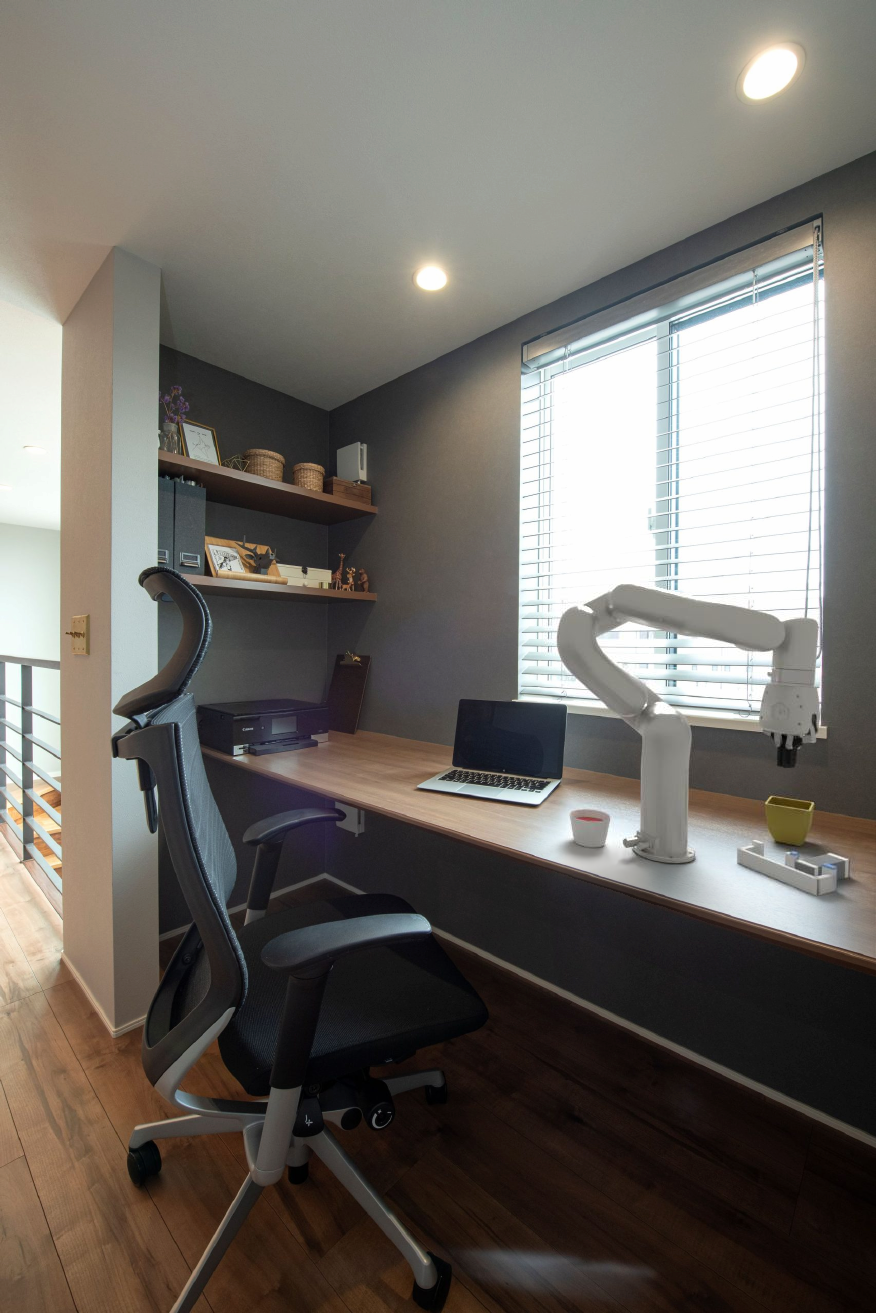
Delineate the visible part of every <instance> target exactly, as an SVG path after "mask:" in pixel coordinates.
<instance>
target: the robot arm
mask: <svg viewBox="0 0 876 1313" xmlns="http://www.w3.org/2000/svg"><path fill="white" fill-rule="evenodd" d="M629 622H630V623H634V624H637V625H642V626H645V627H649V628H653V629H655V630H660V631H664V632H667V633H671V634H675V635H678V636H679V635H680V636H682V637H689V638H690V637H693V638H703V639H704V638H705V639H708V640H713V641H719V642H723V643H728V644H731V645H734V646H735V647H736V648H737V649H740V650H742V651H744V652H751V653H753V652H755V653H756V652H758V653H769V652H771V651H772V657H771V658H772V659H771V670H768V671H767V676H768V677H769V678H770V682H767V683H766V684H765V687H764V690H763V694H762V698H761V703H760V709H759V718H758V719H759V720H758V724H759V727H760V728H761V729H762V733H763V734H764V735H767V736H769V737H771V739H773V741H774V745H775V746H776V747H777V753H776V754H777V755H776V766H777V767H780V768H784V769H792V768H793V769H794V768H796V763H797V754H798V750H799V749H801V747H802V746H803V745H804V744H810V743H811V744H813V743H816V742H817V737H816V735H817V734H818V733H819V729H820V698H819V691H818V687H817V686H815V682H816V681H815V680H816V666H817V652H818V641H819V640H818V639H819V623H818V621H817V620H816V619H814V618H810V617H781V618H778V617H777V616H774V615H772V614H770V613H767V612H763V611H759V610H754V609H751V608H746V607H744V606H738V605H735V604H729V603H725V602H719V601H714V600H710V599H706V598H702V597H698V596H692V595H689V594H684V593H680V592H675V591H672V590H668V589H664V588H660V587H657V586H652V585H647V584H644V583H640V582H635V581H622V582H620V583H618V584H617V585H615V586H614V587H613V588H612V589H611V590H609V591H607V592H605V593H604V594H602V595H600V596H598V597H596V598H594V599H592V600H589V601H588V602H586V603H584V604H581V605H575V606H571V607H570V608H567V609H566V610H565V612H564V613H563V614H562V616H561V617H560V619H559V623H558V625H557V626H558V627H557V633H556V646H557V647H556V648H557V652H558V655H559V658H560V660H561V663H563V665H564V667H565V668H566V669H567V670H568V672H570V673H571V675H572V676H573V677H574V678H575V679H577V680H578V682H580V683H581V684H582V685H583V686H584V687H585V688H586V689H588V691H590V692H591V693H592V694H593V695H594V696H595V697H596V698H597V699H599V700H600V701H601V702H602V703H603V704H604V706H605V707H606V709H608V710H609V711H611V712H612V713H613V714H615V715H617V716H618V717H619V718H621V719H622V720H623V721H624V722H625V723H626V724H628V726H630V727H631V728H633V729H634V730H635V731H636V732H637V733H638V734H640V736H641V737H642V739H641V740H642V744H641V747H642V748H641V761H640V762H641V763H640V820H639V822H640V824H639V825H640V828H639V829H638V830H636V835H634V837H626V838H623V840H622V844H623V847H624V848H626V849H629V848H632V850H633V851H634V852H635V853H636V854H637V855H639V856H641V857H643V858H646V859H648V860H651V861H655V862H659V863H668V864H684V863H685V864H686V863H689V862H691V861H693V860H695V858H696V849H694V848H693V847H692V846H691V845H689V844H688V838H689V836H688V835H689V834H688V828H689V825H688V824H689V821H688V820H689V775H690V774H689V772H690V771H689V770H690V769H689V767H690V758H691V756H690V755H691V749H692V741H693V740H692V730H691V729H692V728H691V725H690V723H689V720H688V719H687V718H686V716H685V715H684V714H683V713H682V712H681V711H679V710H678V709H676V708H674V707H673V706H671V705H670V704H669V703H667V702H666V701H665V700H664V699H662V697H661V696H659V695H658V694H657V693H656V692H654V691H653V690H652V689H651V688H650V687H649V686H647V685H646V684H645V683H644V682H643V681H642V680H641V679H640V678H639V677H638V676H636V675H634V674H632V673H631V672H629V671H627V669H625V668H624V667H623V666H622V665H621V664H619V663H618V662H617V661H616V660H615V659H613V658H612V656H610V655H609V654H608V653H606V652H605V651H604V650H603V649H602V647H600V644H599V643H598V640H597V638H598V637H600V636H602V635H604V634H606V633H608V632H611V631H613V630H614V629H617V628H619V627H621V626H623V625H625V624H627V623H629Z"/></svg>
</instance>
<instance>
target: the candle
mask: <svg viewBox="0 0 876 1313" xmlns="http://www.w3.org/2000/svg"><path fill="white" fill-rule="evenodd" d="M569 819H570V820H569V821H570V825H571V831H572V837H573V841H574V843H575V844H576V845H578V846H581V847H585V848H593V849H594V848H600V847H603V846H605V845H606V842H607V837H608V832H609V828H610V822H611V815H610V814H609V813H607V812H604V811H601V810H599V809H591V808H579V809H574V810H570V812H569Z"/></svg>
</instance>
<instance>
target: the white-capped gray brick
mask: <svg viewBox="0 0 876 1313" xmlns="http://www.w3.org/2000/svg"><path fill="white" fill-rule="evenodd" d="M824 863H827V864H830V865H833V866H836V867H837V881H838V880H842V879H847V878H850V875H851V872H850V871H851V869H850V868H851V859H850V858H847V857H845V856H841V855H838V854H836V853H833V852H829V853H828V852H827V853H826V854H821V855H818V856H813V857H809V858H805V859H799V860H797V861H795V869H796V870H799V871H801V872H804V873H806V874H809V875H811V876H814V877H817V876H821V875H822V864H824Z"/></svg>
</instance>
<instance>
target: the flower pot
mask: <svg viewBox="0 0 876 1313" xmlns="http://www.w3.org/2000/svg"><path fill="white" fill-rule="evenodd" d="M764 807H765V808H764V810H765V817H766V824H767V829H768V831H769V833H770V835H771V837H772V839H773V840H774V841H775V842H777V843H783V844H788V845H791V846H793V845H794V846H797V847H801V846H803V844H804V842H805V841H806V839H807V837H808V834H809V832H810V829H811V827H812V823H813V817H814V816H813V815H814V810H815V809H814V808H815V803H814V802H812V801H807V800H802V799H801V800H799V799H793V798H788V797H787V798H786V797H781V796H774V795H770V797H768V798H767V800H766V801H765V803H764Z"/></svg>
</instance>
